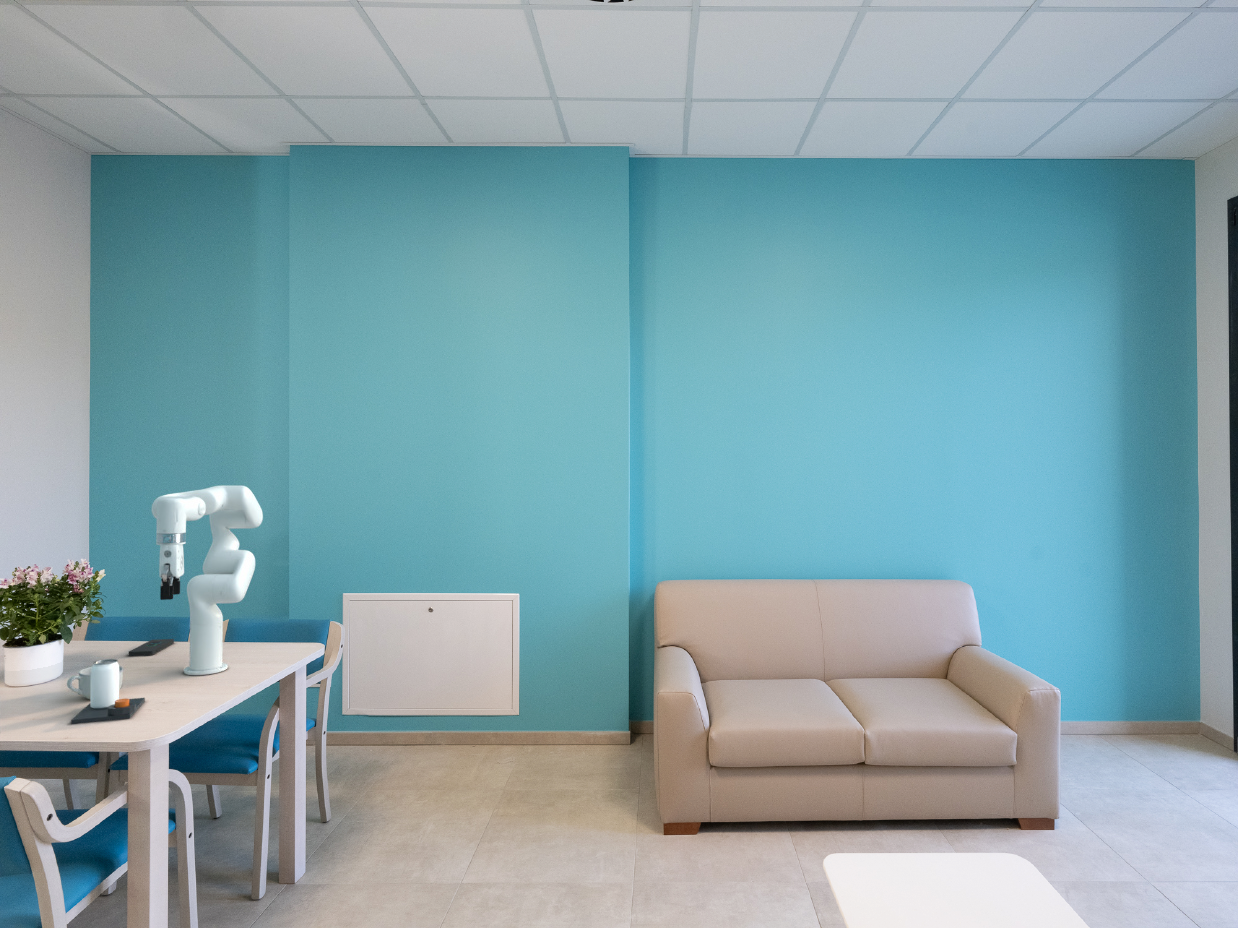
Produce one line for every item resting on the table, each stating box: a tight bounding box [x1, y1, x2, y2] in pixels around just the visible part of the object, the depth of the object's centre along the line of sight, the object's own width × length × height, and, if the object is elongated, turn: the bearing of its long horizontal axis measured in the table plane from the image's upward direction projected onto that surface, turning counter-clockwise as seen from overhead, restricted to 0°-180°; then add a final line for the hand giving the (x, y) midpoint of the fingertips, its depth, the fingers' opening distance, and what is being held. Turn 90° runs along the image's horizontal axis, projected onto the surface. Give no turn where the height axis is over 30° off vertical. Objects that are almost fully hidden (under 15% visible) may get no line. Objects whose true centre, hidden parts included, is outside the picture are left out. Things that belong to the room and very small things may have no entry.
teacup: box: [66, 665, 124, 700], centre depth 215 cm, size 14×11×8 cm
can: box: [89, 658, 120, 709], centre depth 204 cm, size 6×6×12 cm
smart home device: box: [128, 638, 175, 657], centre depth 275 cm, size 8×2×20 cm
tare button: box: [115, 698, 130, 708], centre depth 199 cm, size 3×3×2 cm
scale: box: [70, 697, 146, 725], centre depth 202 cm, size 16×14×3 cm
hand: (170, 596), depth 221 cm, fingers open, 9 cm apart
